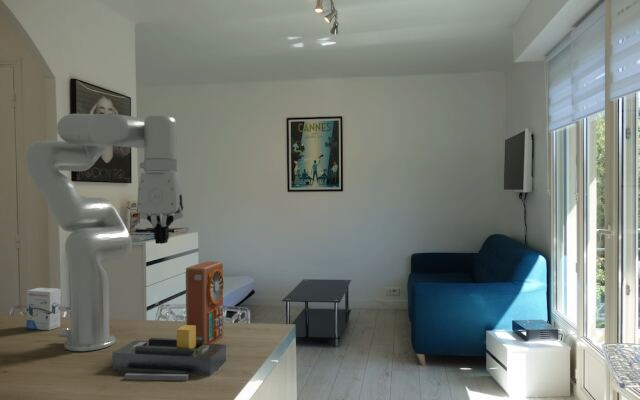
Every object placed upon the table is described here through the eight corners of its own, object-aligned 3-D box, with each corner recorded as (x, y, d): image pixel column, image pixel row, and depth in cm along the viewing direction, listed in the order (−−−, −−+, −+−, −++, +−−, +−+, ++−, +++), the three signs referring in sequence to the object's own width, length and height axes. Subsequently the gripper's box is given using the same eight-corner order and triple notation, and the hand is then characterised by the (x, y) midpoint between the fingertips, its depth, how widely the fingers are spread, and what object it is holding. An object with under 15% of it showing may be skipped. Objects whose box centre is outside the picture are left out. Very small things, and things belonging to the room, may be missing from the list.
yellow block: (176, 350, 119) (176, 329, 118) (184, 345, 122) (184, 325, 122) (189, 351, 118) (188, 330, 118) (195, 346, 122) (195, 325, 122)
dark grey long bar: (118, 374, 115) (118, 369, 115) (121, 372, 116) (121, 367, 116) (184, 378, 112) (184, 373, 112) (187, 376, 114) (187, 371, 114)
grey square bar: (124, 379, 112) (124, 375, 112) (126, 377, 113) (126, 373, 113) (187, 380, 111) (186, 376, 111) (188, 378, 112) (188, 374, 112)
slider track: (112, 369, 118) (112, 347, 118) (135, 356, 128) (134, 335, 128) (210, 375, 114) (210, 352, 114) (226, 360, 124) (225, 339, 124)
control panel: (227, 335, 146) (205, 351, 132) (205, 333, 148) (180, 349, 133) (227, 261, 146) (205, 268, 131) (204, 260, 147) (180, 268, 133)
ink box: (25, 329, 154) (25, 290, 154) (38, 324, 159) (37, 287, 159) (49, 330, 152) (49, 291, 152) (61, 326, 157) (61, 288, 157)
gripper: (123, 167, 120) (124, 244, 120) (183, 166, 118) (184, 245, 118) (140, 168, 128) (140, 241, 128) (196, 167, 125) (196, 241, 125)
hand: (161, 242), depth 123 cm, fingers closed
